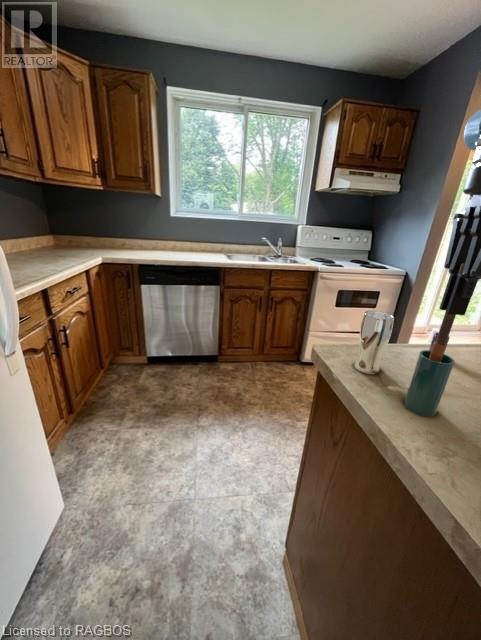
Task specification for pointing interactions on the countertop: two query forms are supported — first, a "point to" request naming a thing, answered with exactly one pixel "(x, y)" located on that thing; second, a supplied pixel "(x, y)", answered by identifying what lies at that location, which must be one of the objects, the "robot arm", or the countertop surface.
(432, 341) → the grey cylinder
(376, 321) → the beer glass
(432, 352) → the brown stick
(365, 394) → the countertop surface
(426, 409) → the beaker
